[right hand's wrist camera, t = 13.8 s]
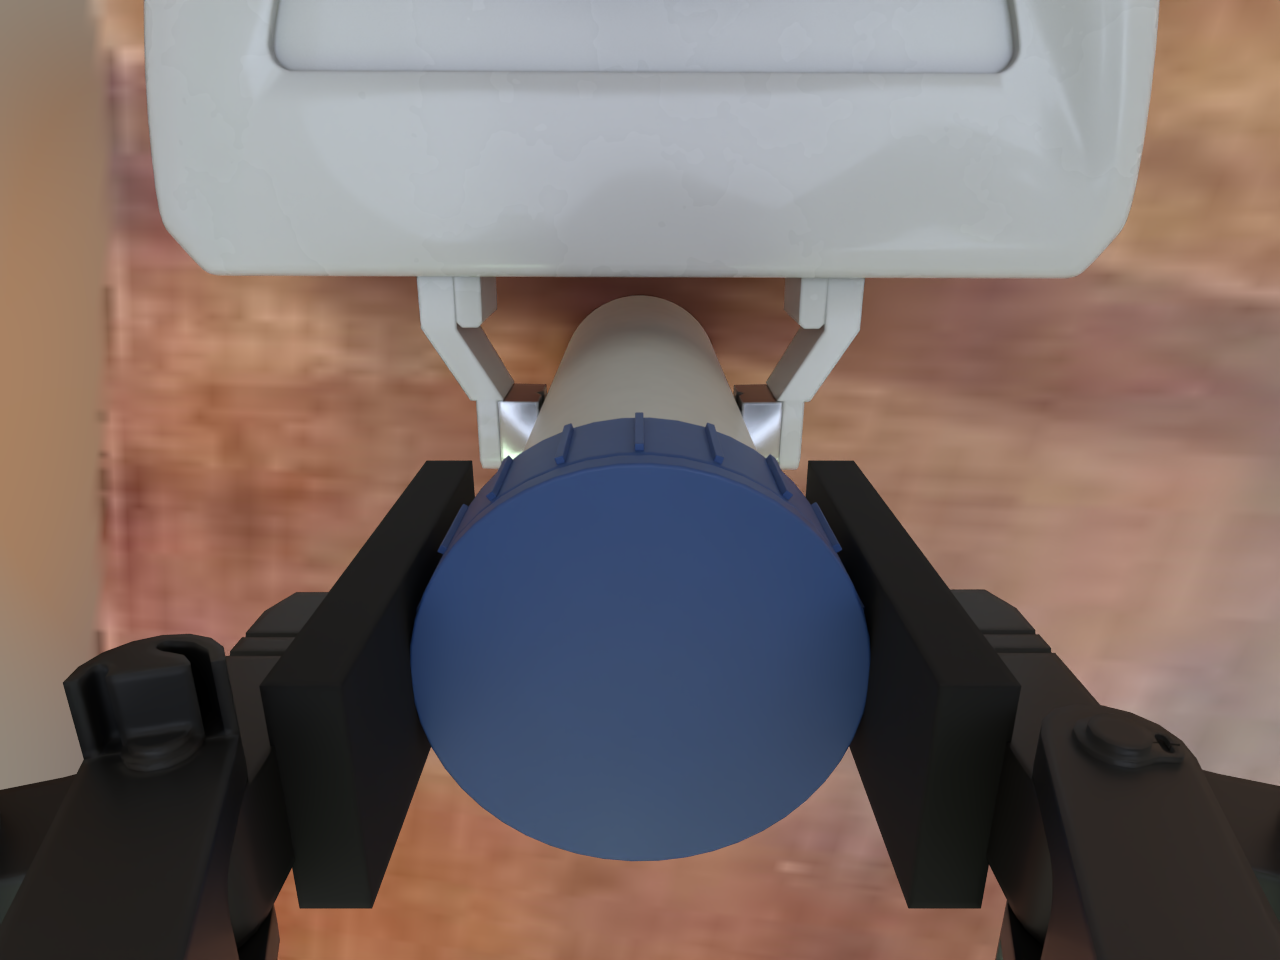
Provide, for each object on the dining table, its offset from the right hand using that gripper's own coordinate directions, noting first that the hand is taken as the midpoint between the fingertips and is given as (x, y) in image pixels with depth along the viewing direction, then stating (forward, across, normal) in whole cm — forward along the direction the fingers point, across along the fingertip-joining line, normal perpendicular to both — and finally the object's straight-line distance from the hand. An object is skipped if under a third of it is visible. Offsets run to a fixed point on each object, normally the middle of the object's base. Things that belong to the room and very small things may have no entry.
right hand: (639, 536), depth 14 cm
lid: (-4, 0, 0) cm, 4 cm away
